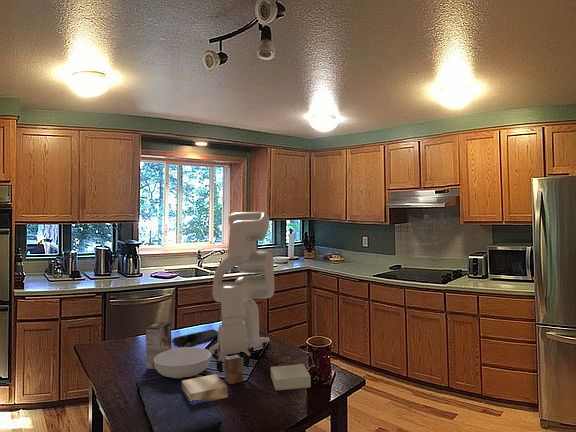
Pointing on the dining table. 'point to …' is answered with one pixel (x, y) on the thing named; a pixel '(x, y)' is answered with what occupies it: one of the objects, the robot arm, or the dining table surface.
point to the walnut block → (233, 369)
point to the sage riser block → (290, 377)
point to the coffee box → (157, 341)
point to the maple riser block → (205, 388)
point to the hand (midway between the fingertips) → (233, 369)
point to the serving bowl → (182, 362)
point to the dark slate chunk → (195, 338)
